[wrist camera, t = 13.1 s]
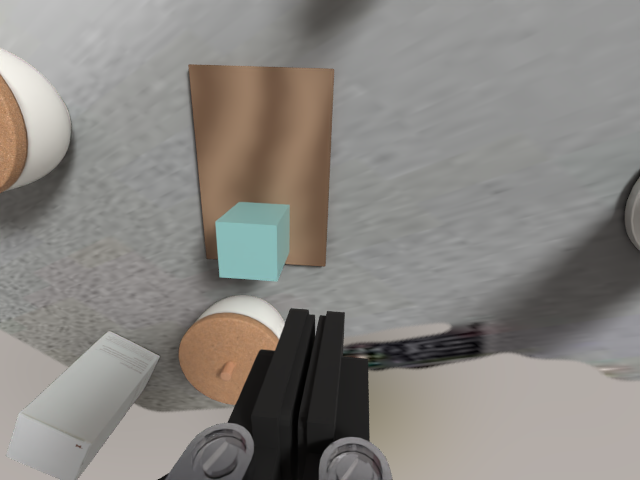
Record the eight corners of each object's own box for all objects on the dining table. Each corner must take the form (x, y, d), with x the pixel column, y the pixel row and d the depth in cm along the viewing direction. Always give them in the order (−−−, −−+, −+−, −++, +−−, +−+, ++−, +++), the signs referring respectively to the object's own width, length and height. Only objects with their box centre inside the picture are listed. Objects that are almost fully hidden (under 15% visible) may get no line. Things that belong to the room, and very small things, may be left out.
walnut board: (334, 69, 30) (333, 68, 29) (325, 263, 37) (325, 266, 36) (192, 65, 31) (188, 64, 30) (209, 255, 38) (206, 258, 37)
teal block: (289, 204, 34) (276, 225, 28) (289, 252, 36) (277, 281, 30) (239, 201, 34) (215, 221, 28) (241, 249, 36) (219, 277, 30)
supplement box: (108, 328, 43) (16, 411, 31) (162, 355, 44) (93, 446, 32) (92, 367, 45) (1, 457, 33) (143, 391, 46) (72, 488, 34)
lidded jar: (271, 266, 38) (248, 313, 29) (310, 341, 41) (300, 403, 32) (191, 296, 40) (147, 348, 31) (234, 365, 43) (205, 430, 34)
